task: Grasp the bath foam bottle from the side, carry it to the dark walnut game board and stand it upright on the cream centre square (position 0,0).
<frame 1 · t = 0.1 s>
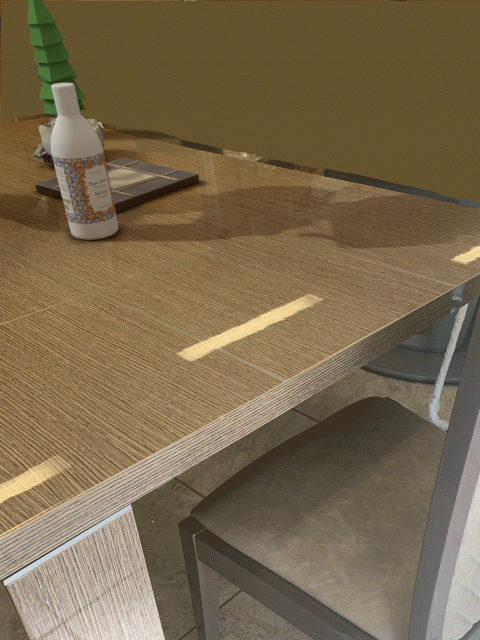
bath foam: (95, 233, 97), on the table
geode: (73, 161, 128), on the table
game board: (119, 187, 114), on the table
decorative tree: (71, 135, 145), on the table
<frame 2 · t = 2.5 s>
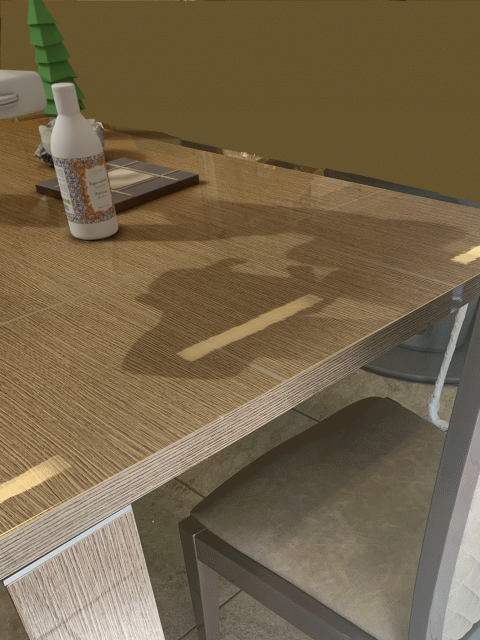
nothing on the table moved.
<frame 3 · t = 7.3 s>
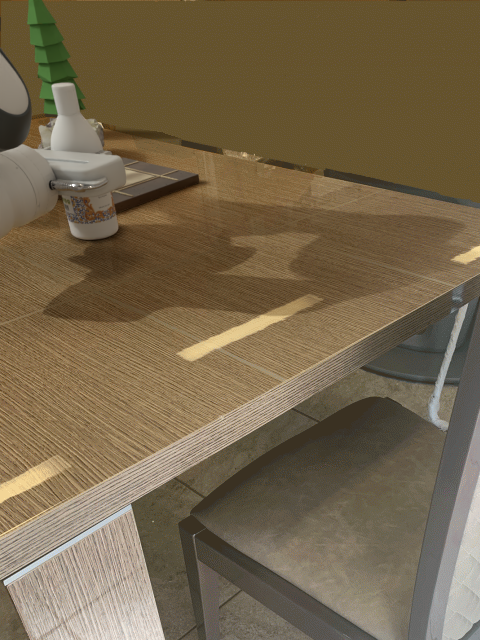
hand: (81, 154, 91), 11 cm above the table, tool horizontal, fingers closed on bath foam, 7 cm apart
bath foam: (95, 233, 97), on the table, touching gripper
everything else where it was.
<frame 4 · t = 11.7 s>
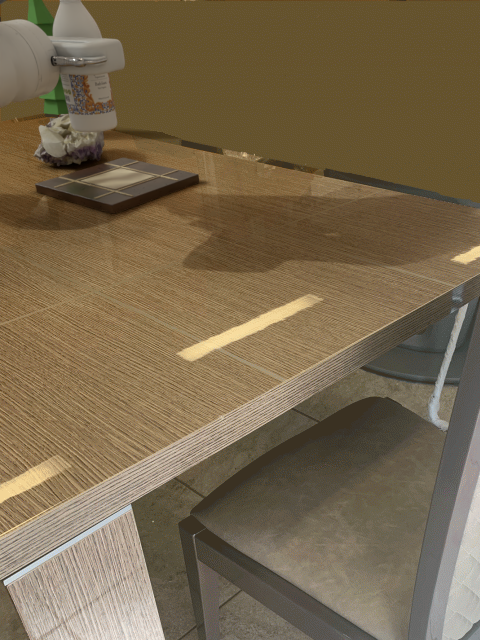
hand: (82, 46, 94), 23 cm above the table, tool horizontal, fingers closed on bath foam, 7 cm apart
bath foam: (95, 129, 100), point 11 cm above the table, touching gripper
everything else where it was.
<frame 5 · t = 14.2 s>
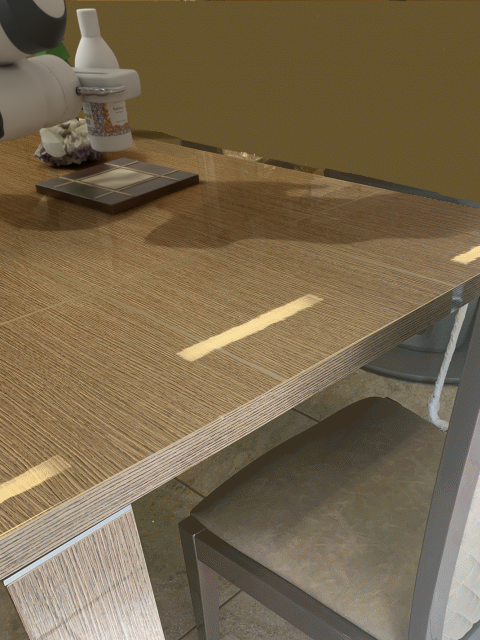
hand: (101, 75, 104), 18 cm above the table, tool horizontal, fingers closed on bath foam, 7 cm apart
bath foam: (113, 149, 110), point 6 cm above the table, touching gripper
everything else where it was.
when the fingers open (13 cm above the table, at t = 16.3 s): bath foam stays where it is, resting on game board.
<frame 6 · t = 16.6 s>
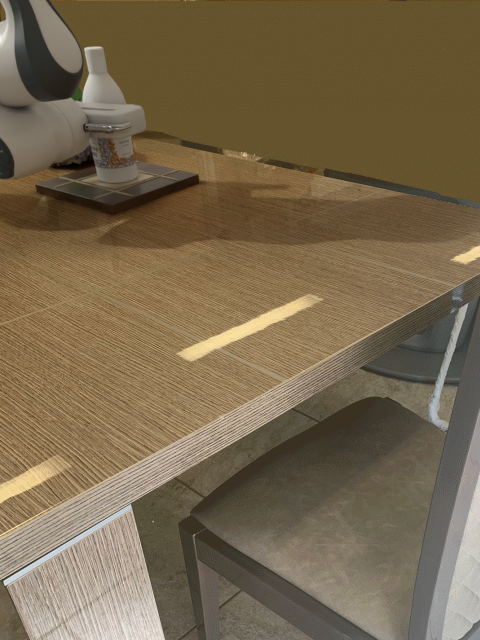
hand: (107, 107, 107), 13 cm above the table, tool horizontal, fingers open, 8 cm apart
bath foam: (118, 179, 113), point 1 cm above the table, touching game board
everything else where it was.
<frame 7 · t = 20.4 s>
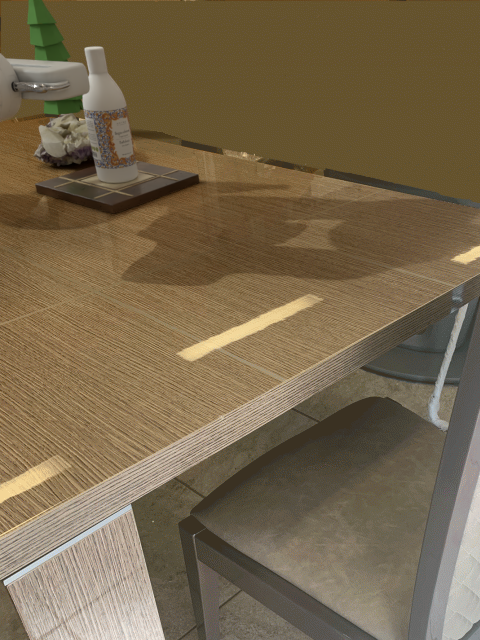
hand: (48, 68, 93), 20 cm above the table, tool horizontal, fingers open, 8 cm apart
nothing on the table moved.
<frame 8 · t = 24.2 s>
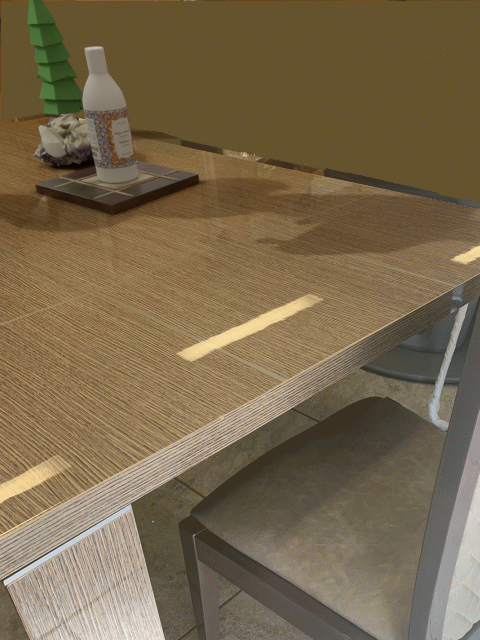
nothing on the table moved.
at the end: bath foam 0.2 cm off-centre on the game board, point 1.4 cm above the game board's base; bath foam tilted 0°; the gripper is holding nothing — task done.
